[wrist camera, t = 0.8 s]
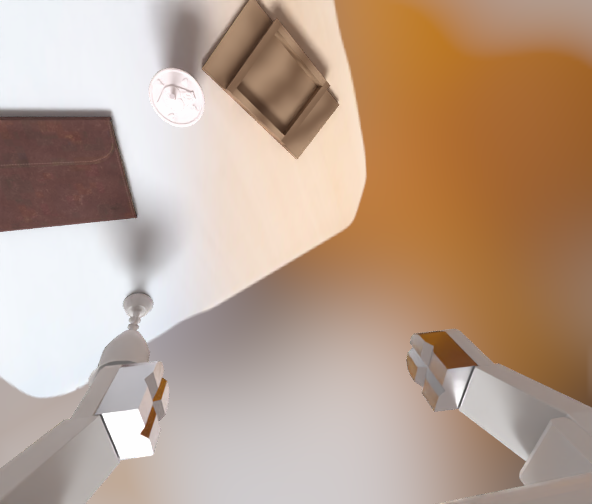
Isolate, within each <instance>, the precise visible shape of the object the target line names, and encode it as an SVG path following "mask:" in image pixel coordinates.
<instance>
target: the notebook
mask: <svg viewBox="0 0 592 504" xmlns="http://www.w3.org/2000/svg"><path fill="white" fill-rule="evenodd" d="M110 120H111V117H0V232H3V231H13V230H23V229H33V228H42V227H52V226H62V225H71V224H81V223H91V222H100V221H110V220H120V219H130V218H137V215H136V213H135V209H134V206H133V202H132V198H131V194H130V191H129V187H128V183H127V179H126V176H125V172H124V168H123V164H122V160H121V157H120V153H119V149H118V145H117V142H116V138H115V134H114V130H113V127H112V123H111V122H110Z"/></svg>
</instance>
